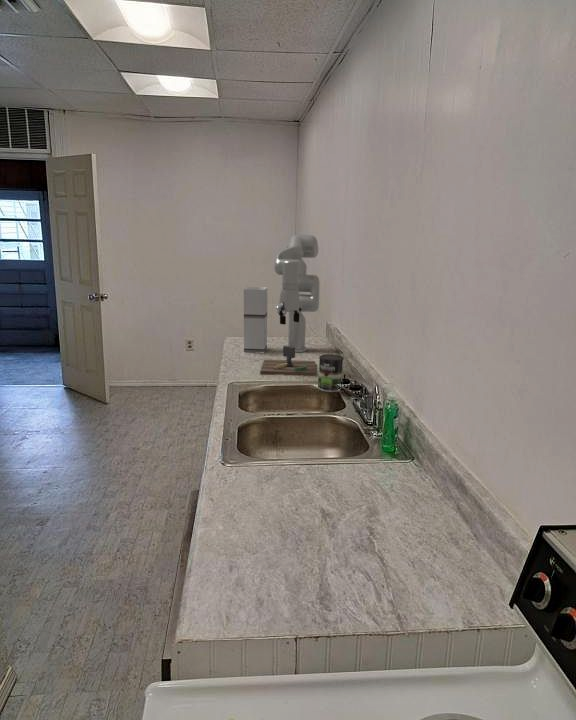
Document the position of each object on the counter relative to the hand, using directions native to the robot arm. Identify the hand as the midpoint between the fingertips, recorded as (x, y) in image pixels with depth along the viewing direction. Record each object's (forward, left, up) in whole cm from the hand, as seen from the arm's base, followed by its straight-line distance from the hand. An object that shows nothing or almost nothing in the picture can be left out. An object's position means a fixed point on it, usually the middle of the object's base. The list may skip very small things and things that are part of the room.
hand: (289, 323), depth 246 cm
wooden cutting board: (0, 0, -23) cm, 23 cm away
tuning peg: (+3, -2, -21) cm, 21 cm away
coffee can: (+31, +19, -23) cm, 43 cm away
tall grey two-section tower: (-38, -20, -23) cm, 49 cm away
